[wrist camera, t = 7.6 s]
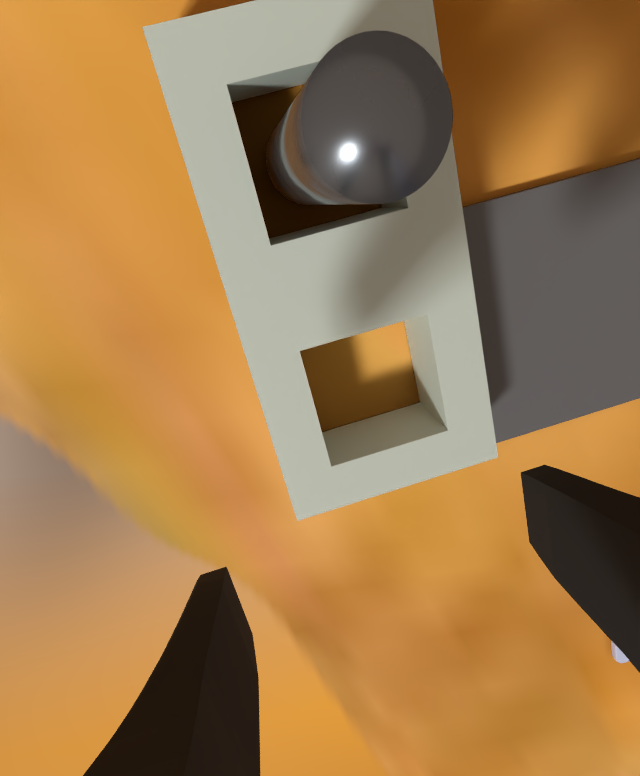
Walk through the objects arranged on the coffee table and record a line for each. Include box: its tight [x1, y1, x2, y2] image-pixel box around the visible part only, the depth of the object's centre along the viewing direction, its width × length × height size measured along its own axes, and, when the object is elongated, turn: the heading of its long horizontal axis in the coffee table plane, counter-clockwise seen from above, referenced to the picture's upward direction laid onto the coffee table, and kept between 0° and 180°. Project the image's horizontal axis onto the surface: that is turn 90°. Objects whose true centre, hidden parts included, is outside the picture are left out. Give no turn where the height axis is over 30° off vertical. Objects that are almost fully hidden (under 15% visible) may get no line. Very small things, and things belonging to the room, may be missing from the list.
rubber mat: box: [462, 158, 640, 443], centre depth 22 cm, size 10×10×1 cm
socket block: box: [142, 0, 498, 521], centre depth 19 cm, size 16×8×3 cm, turn 14°
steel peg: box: [266, 30, 453, 205], centre depth 14 cm, size 3×3×9 cm
